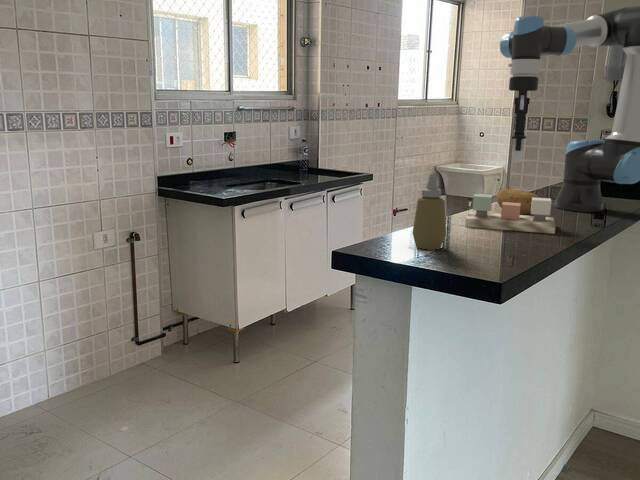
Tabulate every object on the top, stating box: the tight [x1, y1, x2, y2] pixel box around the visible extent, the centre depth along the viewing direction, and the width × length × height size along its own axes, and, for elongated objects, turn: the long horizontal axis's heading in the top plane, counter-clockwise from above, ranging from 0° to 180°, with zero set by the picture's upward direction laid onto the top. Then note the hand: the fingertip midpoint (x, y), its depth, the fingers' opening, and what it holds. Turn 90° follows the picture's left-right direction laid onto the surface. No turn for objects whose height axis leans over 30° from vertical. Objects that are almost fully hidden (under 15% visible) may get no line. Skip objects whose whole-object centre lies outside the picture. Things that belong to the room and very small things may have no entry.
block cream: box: [530, 197, 552, 222], centre depth 170 cm, size 5×5×6 cm
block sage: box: [472, 193, 493, 217], centre depth 175 cm, size 5×5×6 cm
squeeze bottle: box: [412, 173, 447, 251], centre depth 144 cm, size 8×8×18 cm
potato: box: [496, 188, 541, 216], centre depth 191 cm, size 10×14×8 cm
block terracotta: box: [500, 202, 521, 220], centre depth 173 cm, size 5×5×6 cm
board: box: [464, 211, 556, 235], centre depth 174 cm, size 24×12×2 cm, turn 72°
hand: (516, 162), depth 170 cm, fingers closed
